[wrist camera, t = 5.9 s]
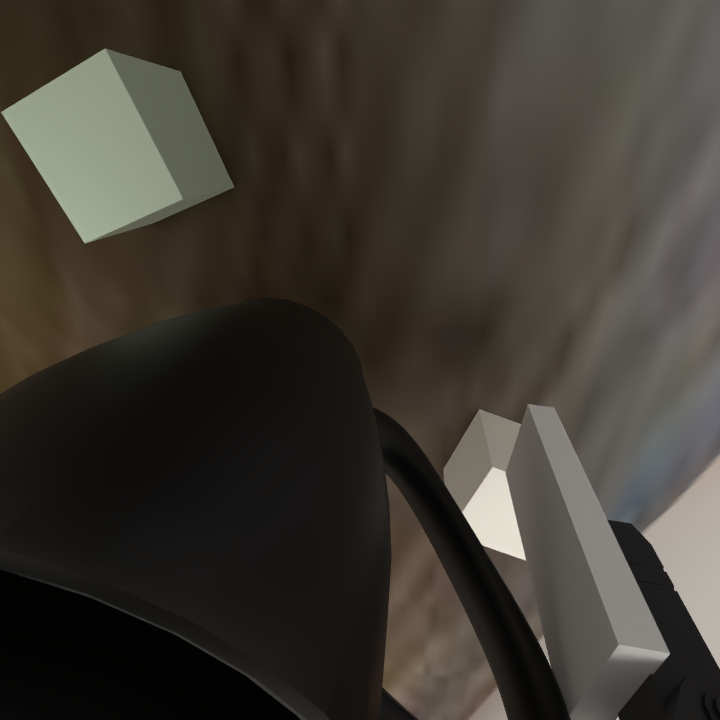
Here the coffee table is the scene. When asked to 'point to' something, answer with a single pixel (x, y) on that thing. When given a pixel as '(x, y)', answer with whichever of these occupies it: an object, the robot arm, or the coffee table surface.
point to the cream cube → (486, 481)
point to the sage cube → (119, 144)
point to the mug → (223, 532)
